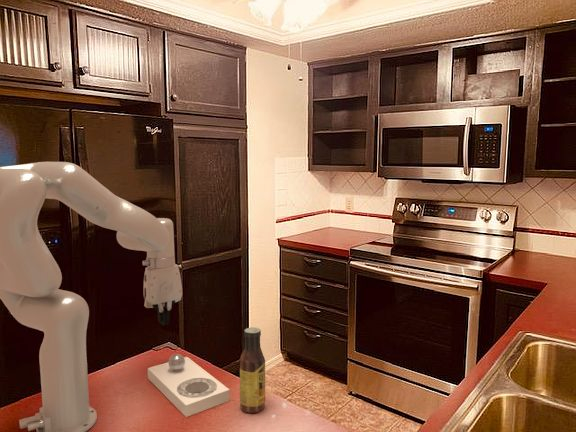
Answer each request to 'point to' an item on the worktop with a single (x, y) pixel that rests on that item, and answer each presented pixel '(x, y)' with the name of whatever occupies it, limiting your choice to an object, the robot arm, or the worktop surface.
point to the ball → (176, 362)
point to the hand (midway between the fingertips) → (164, 323)
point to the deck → (189, 387)
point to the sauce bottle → (252, 373)
